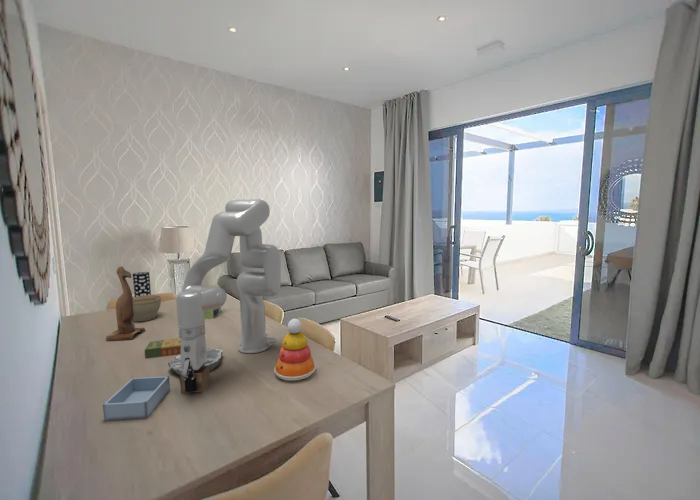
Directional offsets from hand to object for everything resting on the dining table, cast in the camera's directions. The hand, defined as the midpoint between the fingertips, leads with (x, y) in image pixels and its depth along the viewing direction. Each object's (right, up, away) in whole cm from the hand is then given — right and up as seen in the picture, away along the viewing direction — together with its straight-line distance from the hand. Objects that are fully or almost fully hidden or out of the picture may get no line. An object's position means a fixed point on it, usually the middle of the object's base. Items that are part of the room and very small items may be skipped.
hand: (195, 384), depth 108 cm
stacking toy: (+30, 0, +9) cm, 32 cm away
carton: (-23, +2, +28) cm, 36 cm away
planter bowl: (-58, +7, +69) cm, 91 cm away
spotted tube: (-72, +9, +92) cm, 117 cm away
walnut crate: (0, -1, 0) cm, 1 cm away
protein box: (-29, +7, +74) cm, 80 cm away
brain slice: (-6, 0, +15) cm, 16 cm away
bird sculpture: (-52, +4, +45) cm, 69 cm away
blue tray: (-12, -2, -9) cm, 15 cm away
